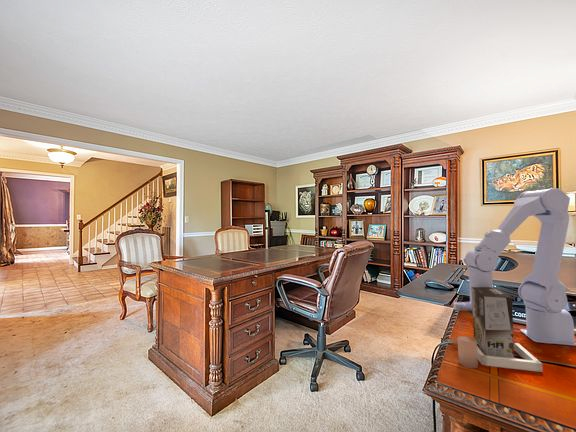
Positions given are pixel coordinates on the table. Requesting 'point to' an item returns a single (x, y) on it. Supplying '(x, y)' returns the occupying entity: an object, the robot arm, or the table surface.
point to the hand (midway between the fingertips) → (483, 335)
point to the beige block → (467, 352)
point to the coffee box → (493, 321)
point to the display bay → (512, 360)
